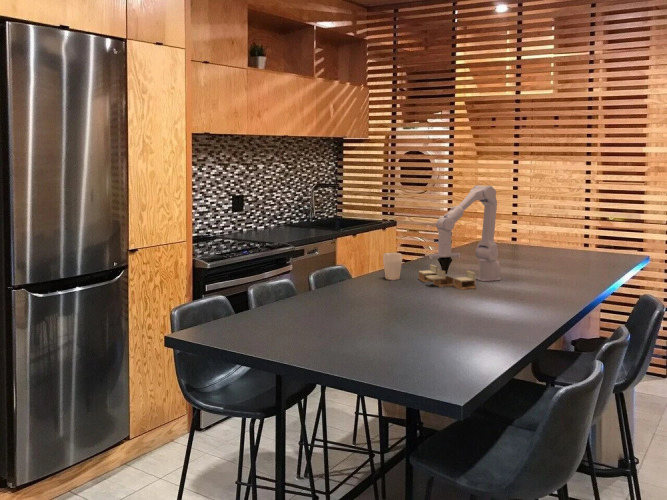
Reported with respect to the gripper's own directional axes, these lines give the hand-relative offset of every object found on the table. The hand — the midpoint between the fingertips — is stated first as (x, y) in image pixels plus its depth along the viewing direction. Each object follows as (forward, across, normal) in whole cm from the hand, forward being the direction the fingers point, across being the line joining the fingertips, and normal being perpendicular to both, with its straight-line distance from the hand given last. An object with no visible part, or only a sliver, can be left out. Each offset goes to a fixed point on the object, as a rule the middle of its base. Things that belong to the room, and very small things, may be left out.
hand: (444, 274), depth 303 cm
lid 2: (+1, +5, 0) cm, 5 cm away
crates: (+5, -1, -2) cm, 6 cm away
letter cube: (+5, +3, -13) cm, 14 cm away
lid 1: (+1, +3, -13) cm, 13 cm away
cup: (+5, +17, -23) cm, 29 cm away
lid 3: (+1, -5, +9) cm, 11 cm away
